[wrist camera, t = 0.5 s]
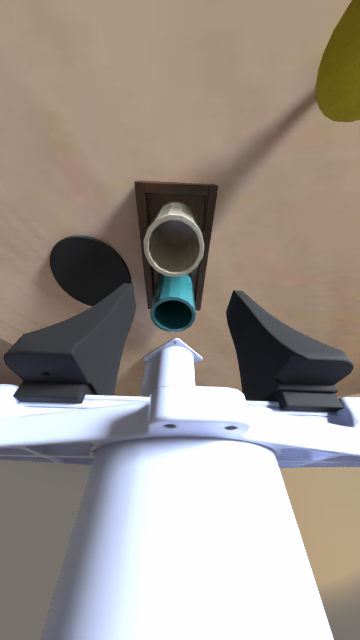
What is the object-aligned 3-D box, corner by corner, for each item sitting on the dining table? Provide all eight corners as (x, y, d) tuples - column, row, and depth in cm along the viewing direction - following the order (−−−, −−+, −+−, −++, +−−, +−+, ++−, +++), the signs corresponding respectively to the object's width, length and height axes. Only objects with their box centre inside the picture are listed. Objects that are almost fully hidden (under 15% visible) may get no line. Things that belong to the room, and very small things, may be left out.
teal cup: (173, 298, 25) (171, 337, 19) (151, 276, 23) (140, 314, 17) (198, 280, 23) (204, 317, 17) (176, 255, 21) (174, 288, 15)
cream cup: (174, 253, 21) (172, 286, 15) (147, 222, 19) (131, 246, 13) (204, 227, 19) (215, 252, 13) (178, 188, 17) (176, 197, 11)
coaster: (104, 316, 27) (103, 318, 27) (38, 271, 23) (36, 273, 22) (146, 279, 23) (145, 280, 23) (75, 214, 18) (73, 215, 18)
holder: (150, 300, 25) (148, 308, 24) (139, 180, 16) (134, 181, 15) (198, 301, 26) (200, 310, 24) (214, 184, 16) (218, 185, 15)
